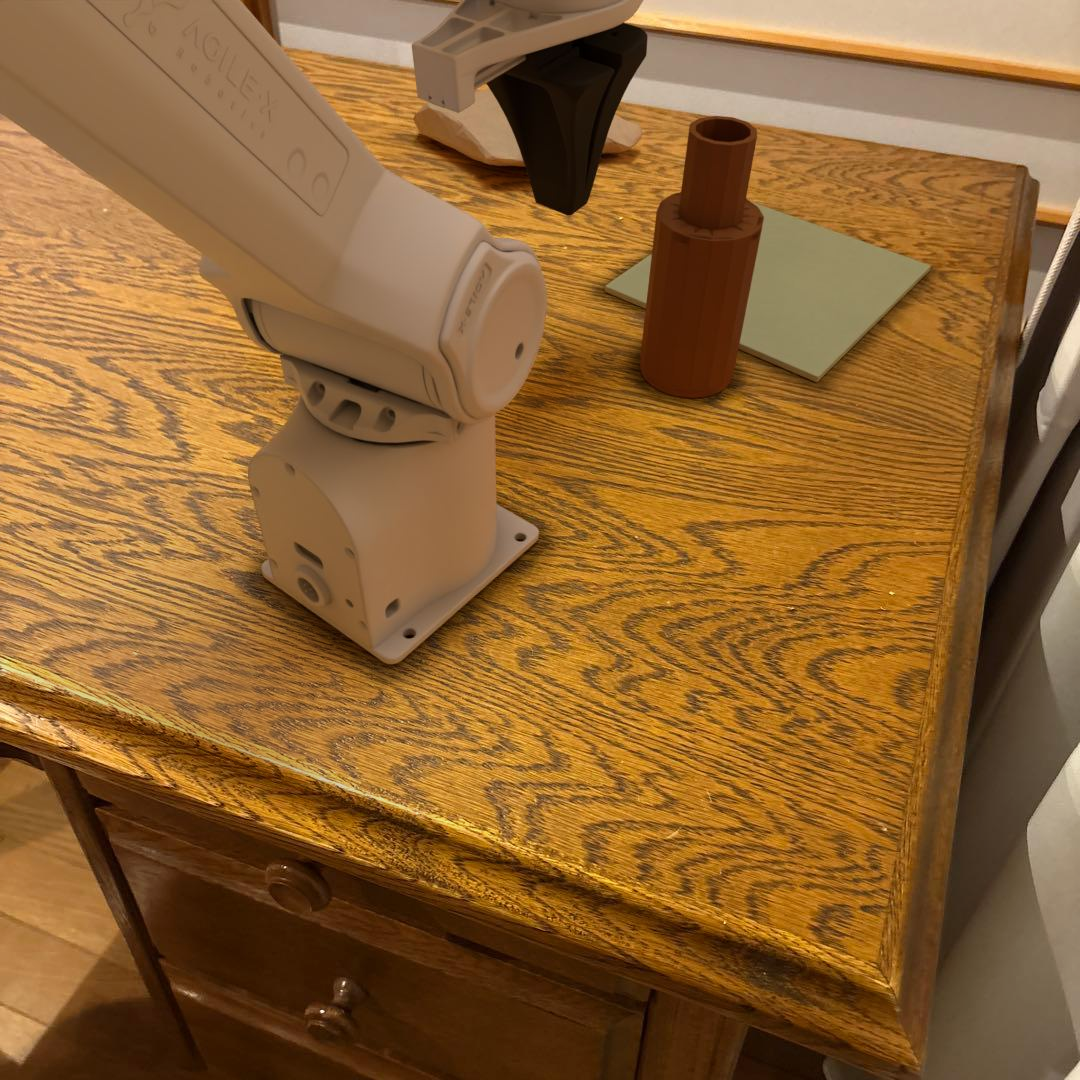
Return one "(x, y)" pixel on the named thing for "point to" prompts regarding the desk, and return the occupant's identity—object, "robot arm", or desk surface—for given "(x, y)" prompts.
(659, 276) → the bottle
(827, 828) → the desk surface
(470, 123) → the stone
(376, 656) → the robot arm
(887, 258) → the mat
